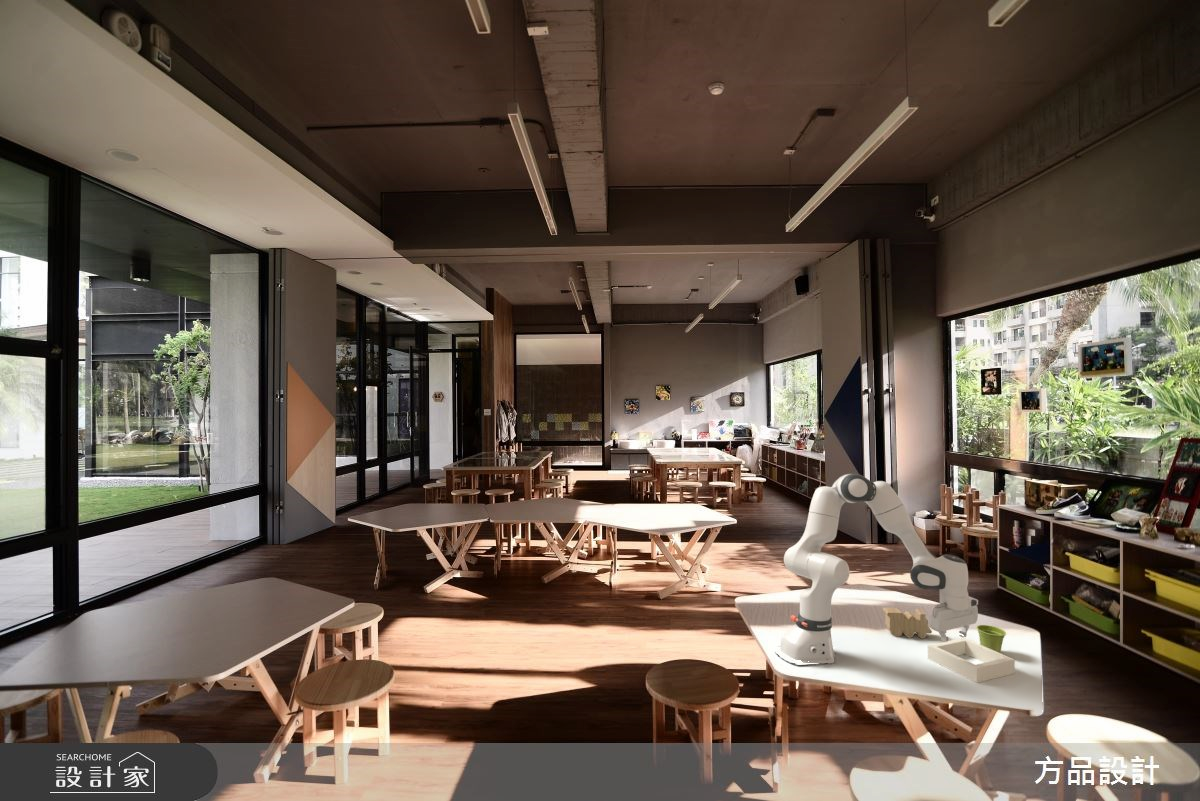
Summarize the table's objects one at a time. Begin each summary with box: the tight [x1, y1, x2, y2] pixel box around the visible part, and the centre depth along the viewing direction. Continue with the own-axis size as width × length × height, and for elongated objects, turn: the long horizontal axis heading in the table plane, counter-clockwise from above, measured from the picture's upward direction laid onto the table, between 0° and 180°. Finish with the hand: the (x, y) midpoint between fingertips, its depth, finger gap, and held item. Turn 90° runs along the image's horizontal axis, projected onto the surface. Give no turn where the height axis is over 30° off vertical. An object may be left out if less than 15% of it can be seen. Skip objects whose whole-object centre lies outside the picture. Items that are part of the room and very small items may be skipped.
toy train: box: [882, 606, 933, 639], centre depth 235 cm, size 6×17×10 cm, turn 81°
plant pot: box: [976, 624, 1007, 654], centre depth 219 cm, size 9×9×9 cm
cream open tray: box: [927, 637, 1016, 684], centre depth 208 cm, size 19×19×5 cm
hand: (953, 638), depth 206 cm, fingers open, 8 cm apart
